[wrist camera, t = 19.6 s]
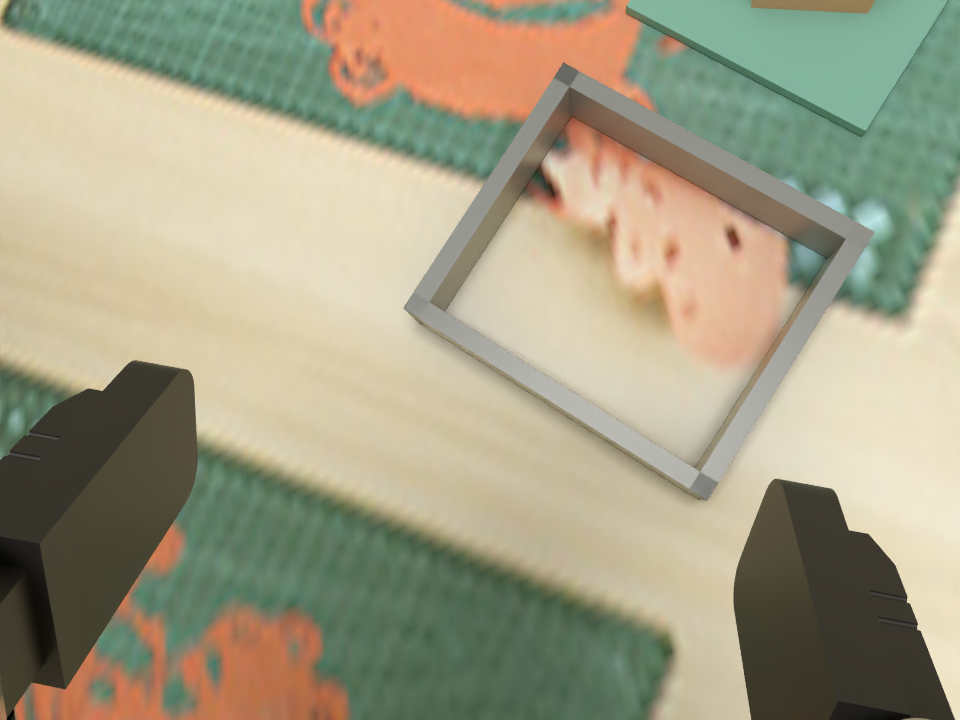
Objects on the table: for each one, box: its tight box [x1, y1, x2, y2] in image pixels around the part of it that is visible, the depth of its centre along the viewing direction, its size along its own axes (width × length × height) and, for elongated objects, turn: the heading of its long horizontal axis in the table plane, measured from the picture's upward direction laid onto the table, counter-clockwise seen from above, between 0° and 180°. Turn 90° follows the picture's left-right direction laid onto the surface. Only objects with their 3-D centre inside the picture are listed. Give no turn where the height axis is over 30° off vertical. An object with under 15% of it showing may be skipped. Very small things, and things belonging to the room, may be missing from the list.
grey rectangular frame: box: [403, 63, 875, 500], centre depth 38 cm, size 15×13×3 cm
